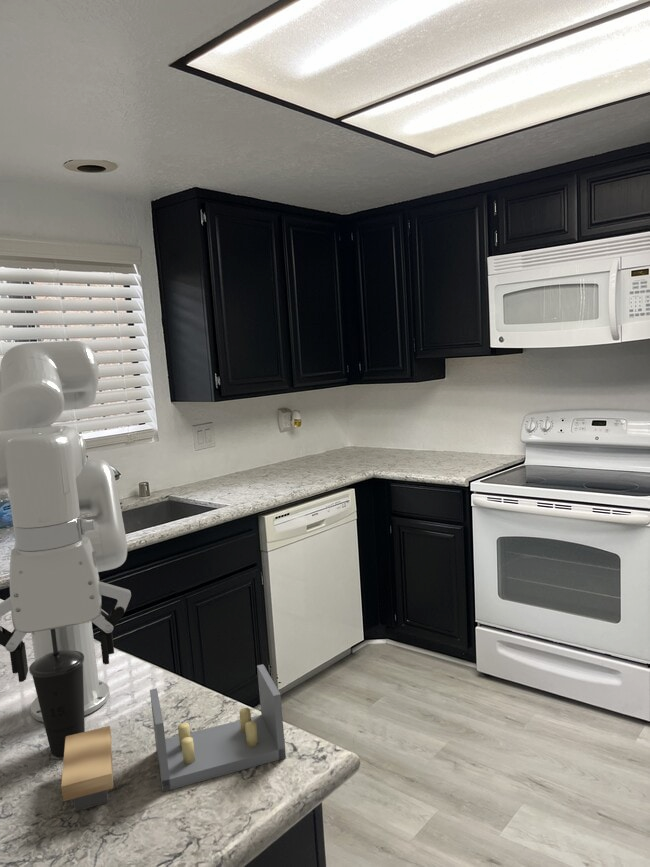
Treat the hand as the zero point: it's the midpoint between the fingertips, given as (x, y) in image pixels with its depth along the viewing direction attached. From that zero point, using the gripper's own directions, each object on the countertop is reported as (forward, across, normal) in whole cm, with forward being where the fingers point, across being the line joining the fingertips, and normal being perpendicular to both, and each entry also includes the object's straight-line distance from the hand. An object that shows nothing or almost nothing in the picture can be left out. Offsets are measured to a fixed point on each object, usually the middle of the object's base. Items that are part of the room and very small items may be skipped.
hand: (65, 668), depth 81 cm
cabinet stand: (+20, -18, -5) cm, 27 cm away
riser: (+20, -1, -5) cm, 20 cm away
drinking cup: (+20, +3, -17) cm, 26 cm away
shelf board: (+17, -1, -5) cm, 17 cm away
